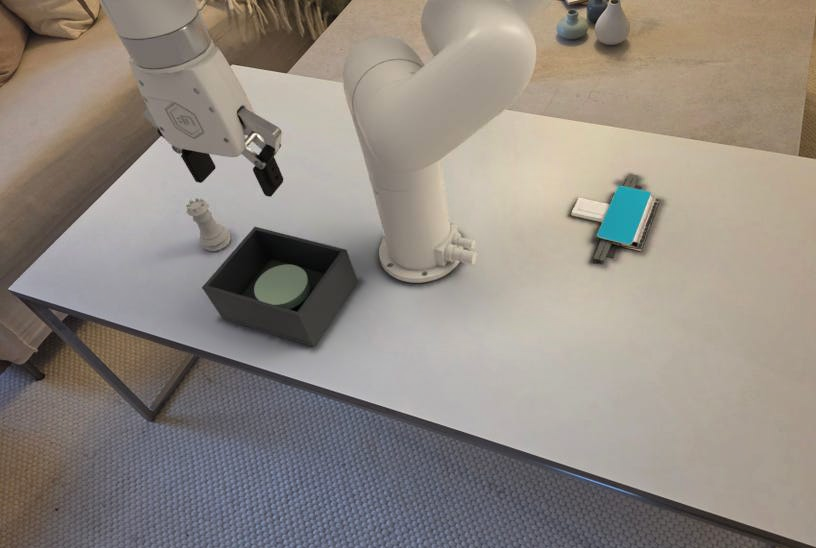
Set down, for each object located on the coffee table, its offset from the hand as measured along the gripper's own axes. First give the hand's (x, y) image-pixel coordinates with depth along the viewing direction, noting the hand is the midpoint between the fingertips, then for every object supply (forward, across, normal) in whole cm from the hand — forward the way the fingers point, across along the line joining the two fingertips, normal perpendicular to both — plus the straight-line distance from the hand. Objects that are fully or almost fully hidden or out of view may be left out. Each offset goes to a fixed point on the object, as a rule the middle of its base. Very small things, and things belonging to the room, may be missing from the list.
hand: (240, 182), depth 69 cm
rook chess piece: (+20, -17, +5) cm, 27 cm away
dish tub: (+20, 0, -2) cm, 20 cm away
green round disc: (+19, 0, -2) cm, 19 cm away
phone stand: (+21, +40, +28) cm, 53 cm away
